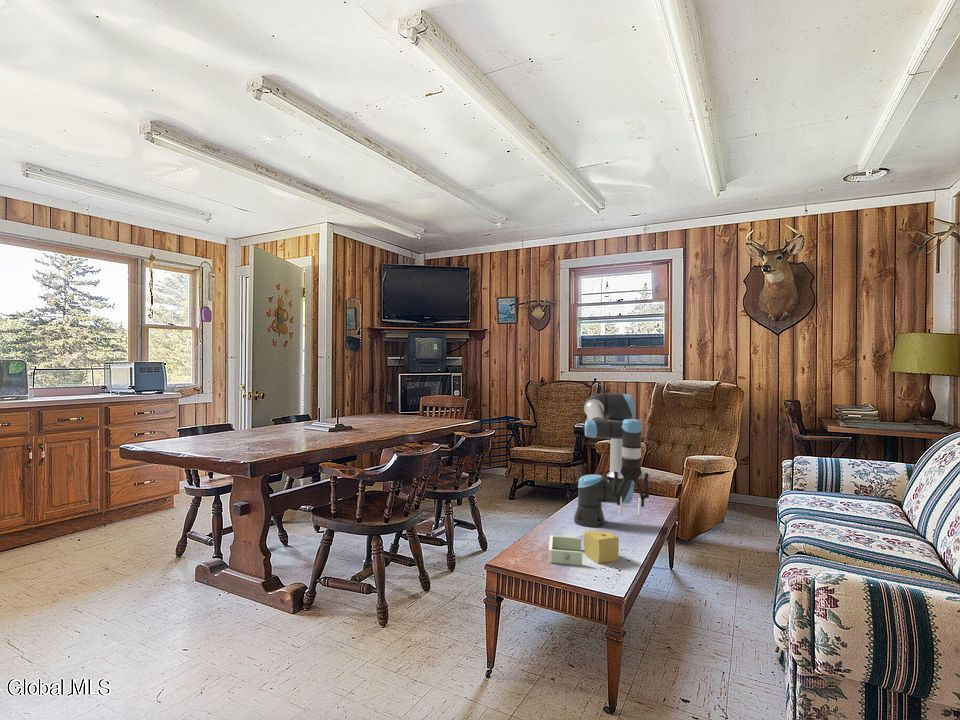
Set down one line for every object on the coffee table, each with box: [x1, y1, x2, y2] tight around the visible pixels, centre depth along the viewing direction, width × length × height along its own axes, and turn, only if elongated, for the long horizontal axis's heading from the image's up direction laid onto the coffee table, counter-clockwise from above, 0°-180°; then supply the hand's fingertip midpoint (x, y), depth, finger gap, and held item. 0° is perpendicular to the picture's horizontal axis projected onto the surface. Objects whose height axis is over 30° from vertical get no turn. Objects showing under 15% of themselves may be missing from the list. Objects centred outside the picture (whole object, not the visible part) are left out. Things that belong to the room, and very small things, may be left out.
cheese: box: [583, 530, 620, 564], centre depth 210 cm, size 10×11×10 cm
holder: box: [548, 534, 583, 566], centre depth 212 cm, size 19×13×5 cm
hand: (630, 513), depth 208 cm, fingers open, 7 cm apart
